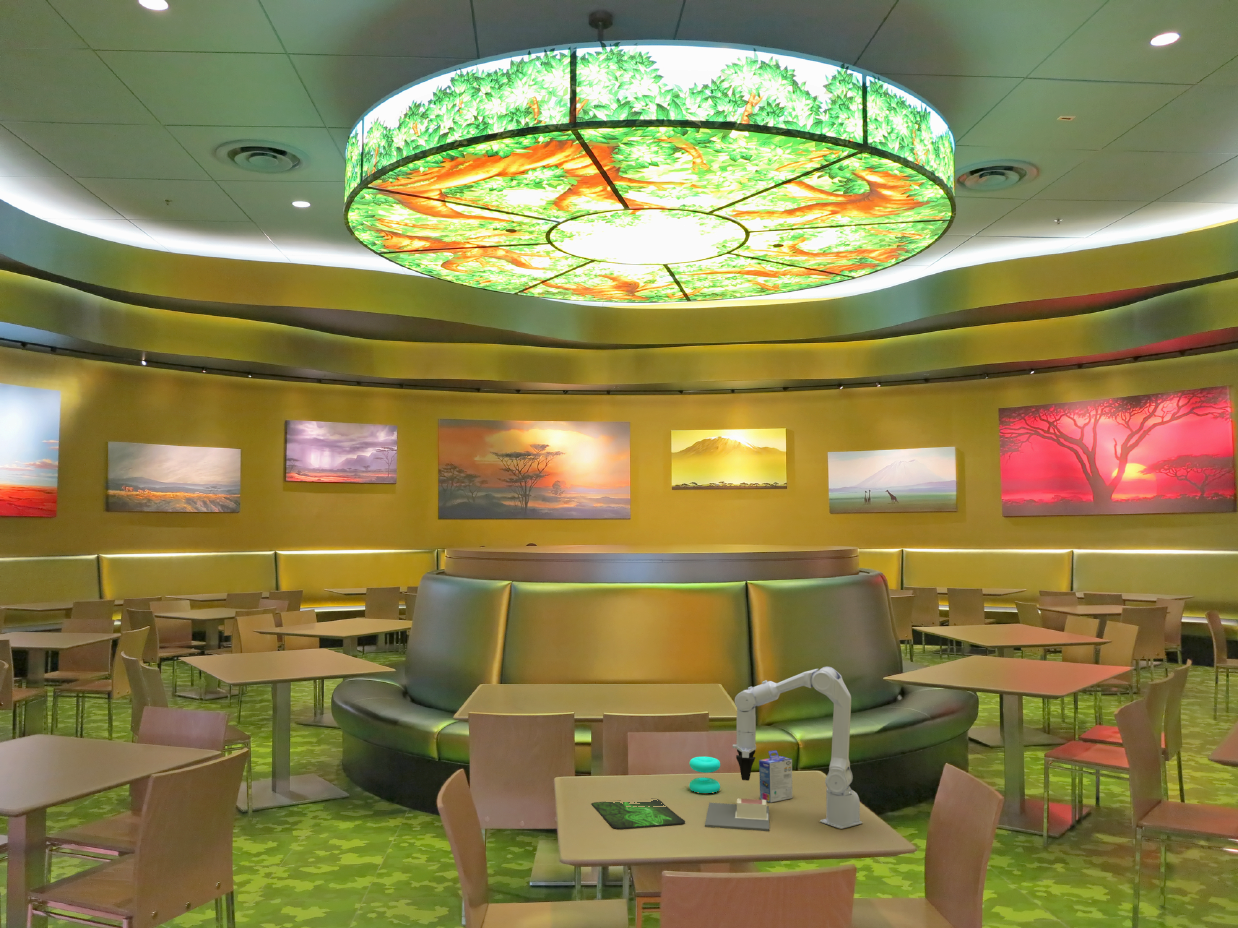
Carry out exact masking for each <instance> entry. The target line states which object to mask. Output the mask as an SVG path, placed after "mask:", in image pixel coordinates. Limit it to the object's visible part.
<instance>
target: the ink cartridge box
mask: <svg viewBox="0 0 1238 928" xmlns="http://www.w3.org/2000/svg"><path fill="white" fill-rule="evenodd" d="M767 753H768V756H769V757H768V758H764V759H759V760H758V765H759V766H758V767H759V769H758V770H759V800H766V803H767V802H768V803H775V802H780V801H783V800H784V801H785V800H789V799H793V759H792V758H788V757H786V756H781V755H780V756H779V753H778V751H777V750H769V751H768V752H767ZM772 754H775V755H772Z"/></svg>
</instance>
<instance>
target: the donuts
mask: <svg viewBox="0 0 1238 928" xmlns="http://www.w3.org/2000/svg"><path fill="white" fill-rule="evenodd" d="M689 767H690V768H691V769H692V770H693V771H694V772H698V773H706V774H708V773H714V772H717V771H718V770H720V768H721V762H720V760H719V759H718V758H715V757H712V756H695V757H693V758H691V759H690V760H689ZM688 787H689V789H690V791H692V792H693V791H694V792H693V793H695V792H699V793H712V792H716V793H718V792H719V791H720V790H721V784H720V782H719V781H717V780H716V779H714V778H711V777H704V776H703V777H696V778H694V779H692V780H690V782H689V784H688ZM717 791H718V792H717ZM699 793H698V794H699Z"/></svg>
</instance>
